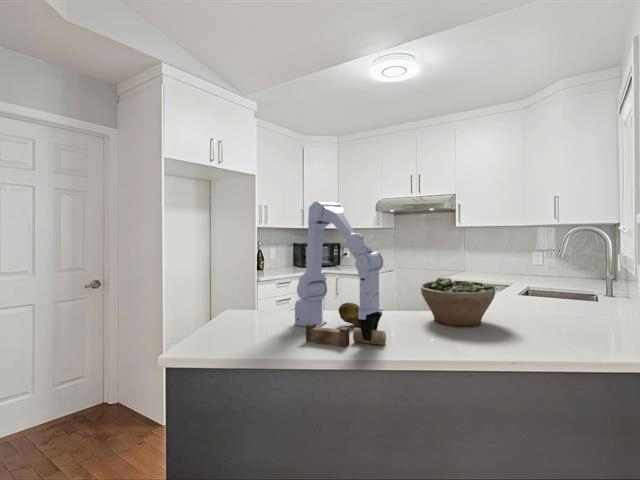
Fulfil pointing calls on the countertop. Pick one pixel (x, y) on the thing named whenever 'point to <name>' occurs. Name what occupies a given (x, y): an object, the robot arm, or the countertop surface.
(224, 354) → the countertop surface
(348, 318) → the potato
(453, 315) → the planter
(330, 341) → the stop rail
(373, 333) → the roller
